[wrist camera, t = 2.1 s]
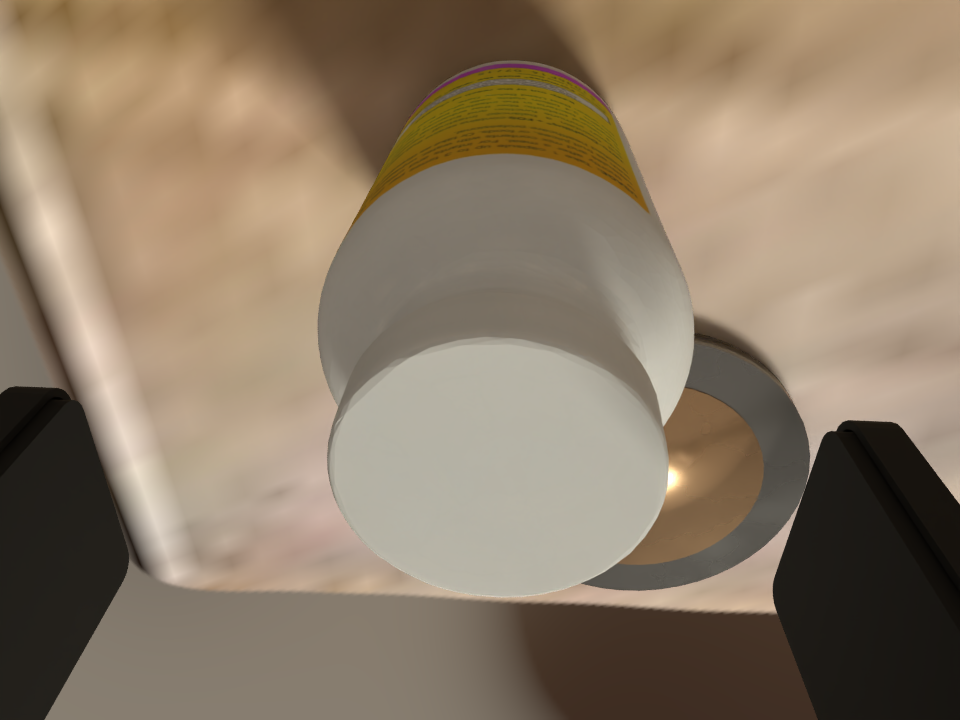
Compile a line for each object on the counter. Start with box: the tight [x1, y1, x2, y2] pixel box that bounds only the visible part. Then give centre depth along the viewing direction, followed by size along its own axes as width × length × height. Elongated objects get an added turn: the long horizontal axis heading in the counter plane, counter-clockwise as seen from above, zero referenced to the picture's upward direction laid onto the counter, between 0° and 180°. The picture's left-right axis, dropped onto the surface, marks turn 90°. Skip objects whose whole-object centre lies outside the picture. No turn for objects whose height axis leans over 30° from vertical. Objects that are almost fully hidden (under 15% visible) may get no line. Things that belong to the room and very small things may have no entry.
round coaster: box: [581, 333, 810, 591], centre depth 25 cm, size 11×11×1 cm
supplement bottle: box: [318, 60, 694, 597], centre depth 15 cm, size 7×7×13 cm
